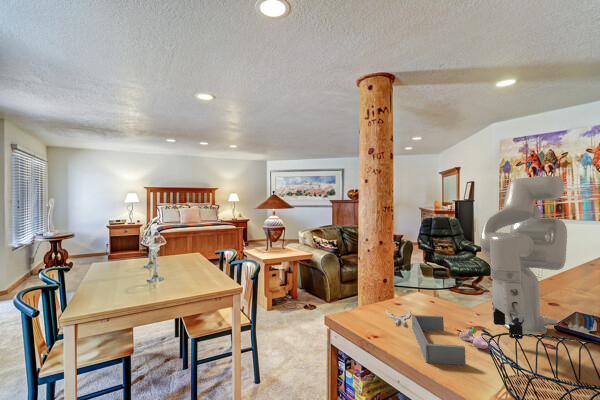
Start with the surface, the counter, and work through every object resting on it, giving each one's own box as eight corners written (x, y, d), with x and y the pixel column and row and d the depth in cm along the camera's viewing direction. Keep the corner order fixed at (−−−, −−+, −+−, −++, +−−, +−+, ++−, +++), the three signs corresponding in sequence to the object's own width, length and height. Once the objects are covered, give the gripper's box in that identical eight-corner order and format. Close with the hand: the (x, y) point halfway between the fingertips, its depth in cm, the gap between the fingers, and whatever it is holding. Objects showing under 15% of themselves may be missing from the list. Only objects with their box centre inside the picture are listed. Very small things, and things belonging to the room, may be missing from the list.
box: (443, 329, 101) (442, 316, 101) (465, 365, 80) (465, 347, 80) (412, 328, 103) (411, 314, 103) (426, 362, 82) (425, 345, 82)
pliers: (409, 308, 119) (414, 323, 104) (409, 312, 119) (414, 328, 104) (385, 307, 121) (386, 321, 107) (385, 310, 121) (386, 326, 107)
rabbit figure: (453, 341, 95) (491, 358, 81) (450, 323, 96) (487, 336, 82) (469, 339, 97) (509, 354, 82) (466, 321, 98) (505, 333, 83)
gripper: (536, 282, 78) (538, 345, 77) (504, 269, 95) (506, 321, 94) (506, 281, 79) (508, 343, 79) (480, 268, 96) (481, 319, 96)
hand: (507, 331), depth 86 cm, fingers open, 9 cm apart
